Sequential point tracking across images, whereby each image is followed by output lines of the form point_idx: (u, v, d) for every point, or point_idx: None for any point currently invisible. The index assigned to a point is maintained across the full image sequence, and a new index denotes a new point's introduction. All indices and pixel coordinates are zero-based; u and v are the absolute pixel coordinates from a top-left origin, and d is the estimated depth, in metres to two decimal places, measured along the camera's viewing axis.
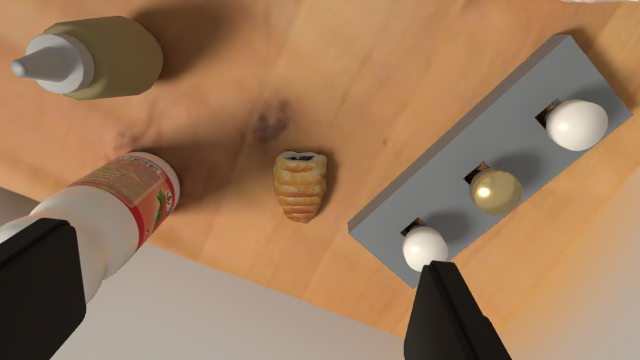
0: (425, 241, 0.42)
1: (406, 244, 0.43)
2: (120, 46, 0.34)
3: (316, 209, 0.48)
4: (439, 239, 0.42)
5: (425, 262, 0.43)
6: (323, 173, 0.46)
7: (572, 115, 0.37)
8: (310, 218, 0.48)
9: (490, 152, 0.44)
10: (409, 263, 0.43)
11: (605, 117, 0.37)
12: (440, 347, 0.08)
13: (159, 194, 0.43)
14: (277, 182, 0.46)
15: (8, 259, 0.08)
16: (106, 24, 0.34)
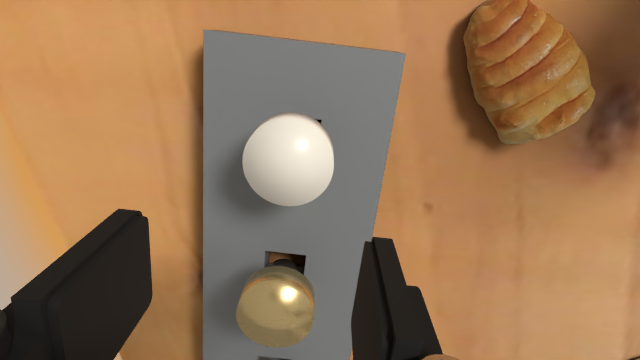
0: (310, 184, 0.20)
1: (331, 150, 0.20)
2: None
3: (479, 58, 0.23)
4: (291, 203, 0.21)
5: (274, 147, 0.20)
6: (507, 129, 0.25)
7: None
8: (478, 31, 0.23)
9: None
10: (300, 125, 0.19)
11: None
12: (368, 312, 0.09)
13: None
14: (579, 57, 0.23)
15: (102, 245, 0.09)
16: None
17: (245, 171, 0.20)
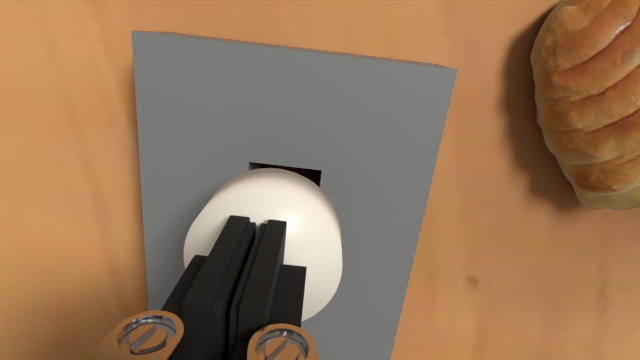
0: None
1: (338, 238, 0.12)
2: None
3: (560, 88, 0.15)
4: None
5: None
6: (598, 192, 0.16)
7: None
8: (558, 45, 0.15)
9: None
10: (282, 200, 0.11)
11: None
12: None
13: None
14: None
15: (234, 250, 0.09)
16: None
17: None
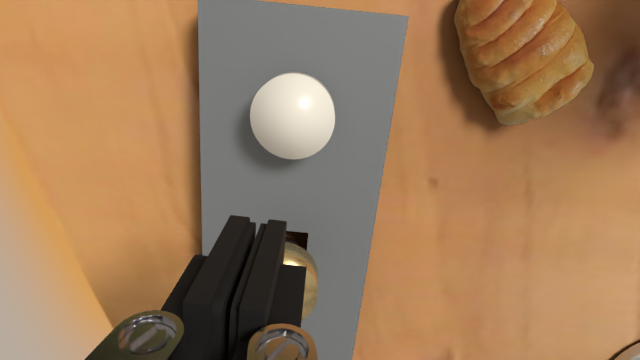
0: (313, 138, 0.22)
1: (332, 105, 0.22)
2: None
3: (471, 38, 0.23)
4: (296, 156, 0.22)
5: (279, 102, 0.21)
6: (505, 109, 0.24)
7: None
8: (468, 10, 0.22)
9: None
10: (303, 80, 0.21)
11: None
12: None
13: None
14: (575, 30, 0.22)
15: (234, 250, 0.09)
16: None
17: (253, 126, 0.22)
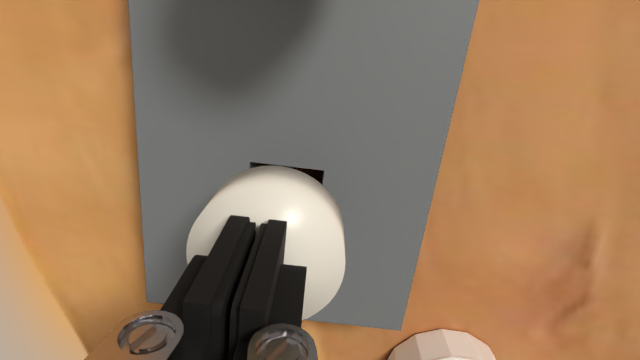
0: None
1: None
2: None
3: None
4: None
5: None
6: None
7: (320, 268, 0.12)
8: None
9: (350, 13, 0.13)
10: None
11: None
12: None
13: None
14: None
15: (233, 250, 0.09)
16: None
17: None
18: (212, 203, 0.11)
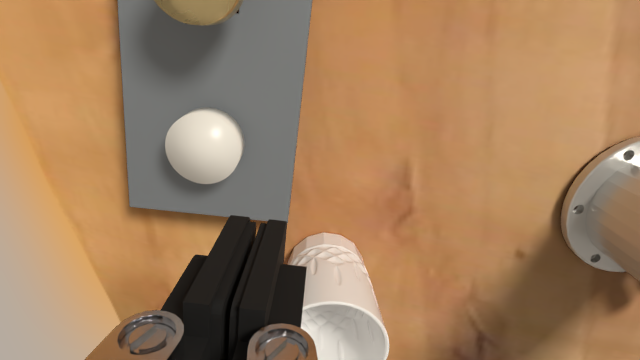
0: None
1: None
2: None
3: None
4: None
5: None
6: None
7: (228, 153, 0.25)
8: None
9: (241, 33, 0.25)
10: None
11: (190, 178, 0.26)
12: None
13: None
14: None
15: (234, 250, 0.09)
16: None
17: None
18: (177, 120, 0.24)
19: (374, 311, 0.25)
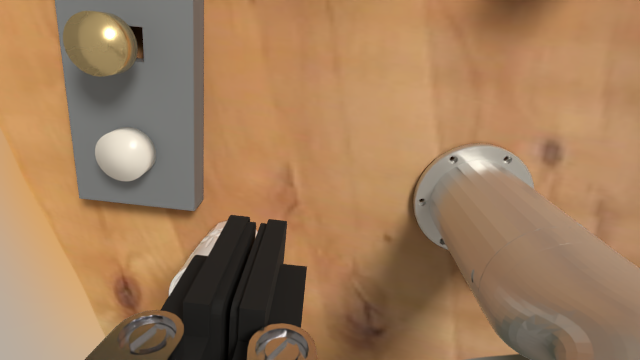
0: None
1: None
2: None
3: None
4: None
5: None
6: None
7: (139, 159, 0.35)
8: None
9: (147, 75, 0.35)
10: None
11: (114, 177, 0.36)
12: None
13: None
14: None
15: (234, 250, 0.09)
16: None
17: None
18: (101, 137, 0.35)
19: None
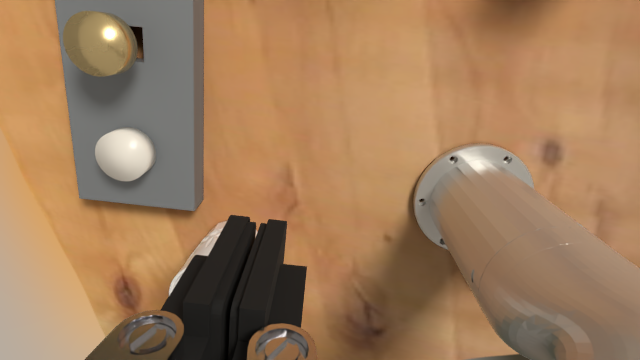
0: None
1: None
2: None
3: None
4: None
5: None
6: None
7: (139, 159, 0.35)
8: None
9: (147, 75, 0.35)
10: None
11: (114, 177, 0.36)
12: None
13: None
14: None
15: (234, 250, 0.09)
16: None
17: None
18: (101, 137, 0.35)
19: None
